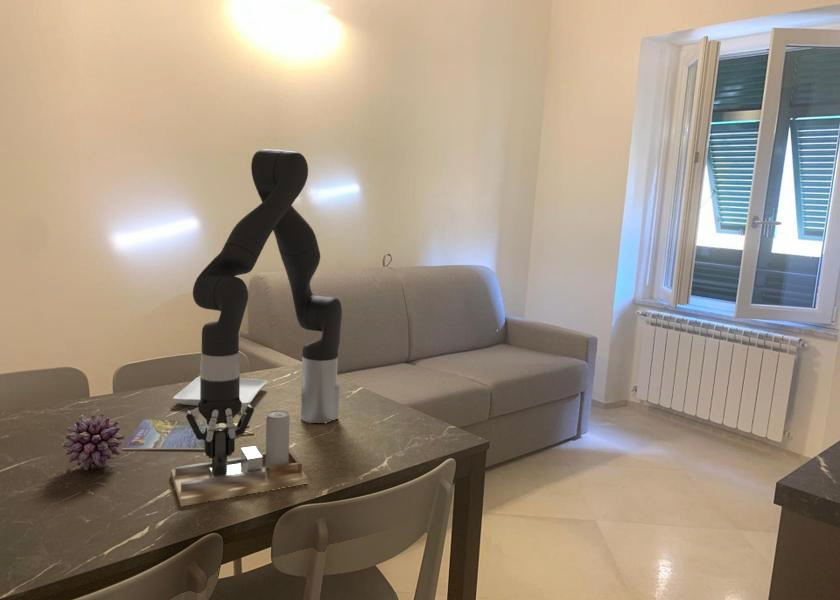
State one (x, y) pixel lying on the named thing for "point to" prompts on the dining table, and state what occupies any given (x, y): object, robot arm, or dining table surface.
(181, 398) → the salad plate
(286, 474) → the wooden tray
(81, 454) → the flower
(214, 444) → the press block
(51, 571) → the dining table surface
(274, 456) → the beverage can
